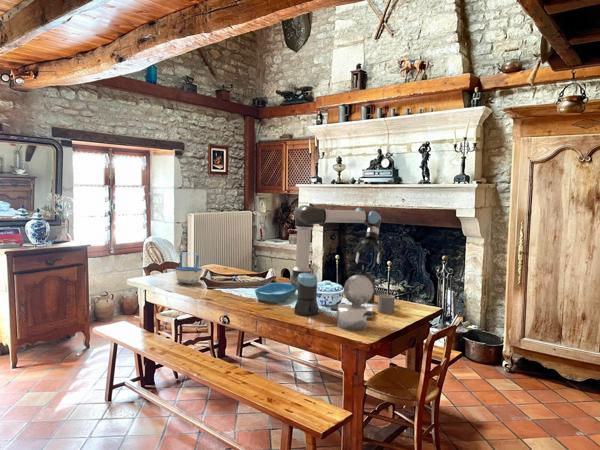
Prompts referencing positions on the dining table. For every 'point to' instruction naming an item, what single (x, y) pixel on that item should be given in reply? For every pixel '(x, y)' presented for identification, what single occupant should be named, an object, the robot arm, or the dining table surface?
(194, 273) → the basket
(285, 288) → the casserole dish
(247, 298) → the dining table surface
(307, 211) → the robot arm
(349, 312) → the pressure cooker pot
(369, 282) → the lid
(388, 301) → the coffee mug
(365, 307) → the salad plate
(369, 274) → the canister
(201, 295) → the dining table surface
